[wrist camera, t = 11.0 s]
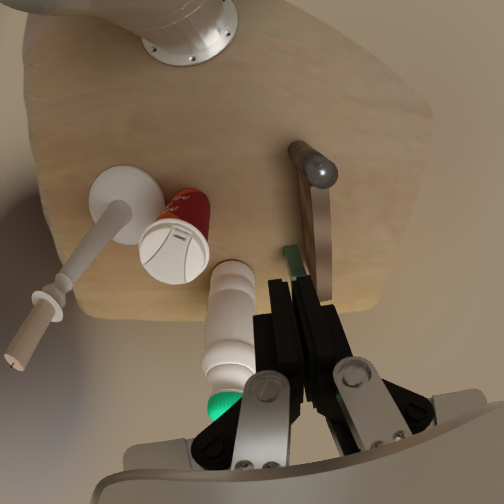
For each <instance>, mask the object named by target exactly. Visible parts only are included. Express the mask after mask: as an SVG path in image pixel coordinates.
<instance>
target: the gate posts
mask: <svg viewBox="0 0 504 504" xmlns="http://www.w3.org/2000/svg"><path fill="white" fill-rule="evenodd" d="M288 153H289V156H290V158H291V159H292V160H293V161H294V162H295V164H296V165H297V166H298V167H299V169H300V170H301V171H302V172H303V174H304V175H305V176H306V178H307V179H308V180H309V181H310V183H311V184H312V185H313V186H314V187H316V188H318V189H327V188H330V187H331V186H333V185H334V184H335V182H336V181H337V178H338V170H337V167H336V166H335V164H334V163H332V162H331V161H330V160H329V159H327V158H326V157H325V156H323V155H322V154H321V153H319V152H318V151H316V150H315V149H314V148H312V147H311V146H310V145H308V144H307V143H305V142H304V141H295V142H293V143H292V144H291V145H290V147H289V149H288ZM284 255H285V261H286V265H287V269H288V273H289V277H290V281H295V280H296V277H297V276H304V275H307V274H306V271H305V268H304V265H303V262H302V259H301V256H300V253H299V250H298V248H297V245H291V246H284Z"/></svg>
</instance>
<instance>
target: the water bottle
mask: <svg viewBox="0 0 504 504" xmlns="http://www.w3.org/2000/svg"><path fill="white" fill-rule="evenodd" d="M254 289H255V279H254V274H253V272H252V270H251V269H250V268H249V267H248V266H247V265H246V264H244V263H242V262H239V261H226V262H223V263H221V264H219V265H218V266H217V267H215V269H214V270H213V272H212V275H211V280H210V291H209V297H208V304H209V306H208V310H207V315H206V321H205V329H204V344H203V349H204V352H203V354H202V357H201V367H202V370H203V373H204V375H205V377H206V378H207V381H208V384H209V386H210V387H211V389H212V390H213V393H212V394H211V395H210V397H209V401H208V415H209V417H210V419H212V420H213V421H215V420H216V419H217V418H219V417H220V416H221V415H222V414H223V413H224V412H226V411H227V410H228V409H229V408H230V407H231V406H232V405H233V404H235V403H236V402H237V401H238V400H239V399H240V398H241V397H242V396H243V390H244V386H245V383H246V381H247V380H248V379H249V377H251V376H252V375H254V374H255V373H256V366H255V349H254V333H253V315H257V313H256V308H255V305H256V295H255V290H254Z"/></svg>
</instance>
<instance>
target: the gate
mask: <svg viewBox="0 0 504 504" xmlns="http://www.w3.org/2000/svg"><path fill="white" fill-rule="evenodd" d="M297 172H298V180H299V189H300V198H301V208H302V218H303V229H304V240H305V252H306V265H307V268H308V271H309V273H310V276H311V279H312V281H313V284H314V287H315V290H316V293H317V296H318V299H319V302H322V301H327V300H332V244H331V216H330V197H329V188H327V189H318V188H316V187H314V186H313V185H312V184H311V183H310V181H309V180H308V179H307V178H306V176H305V175H304V174H303V172H302V171H301V170H300V169H299V167H298V166H297Z"/></svg>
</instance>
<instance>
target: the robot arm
mask: <svg viewBox="0 0 504 504" xmlns="http://www.w3.org/2000/svg"><path fill="white" fill-rule="evenodd" d="M0 2H1V3H3V4H4V5H6V6H8V7H11V8H13V9H16V10H20V11H24V12H28V13H34V14H42V15H53V16H94V17H98V18H102V19H104V20H107V21H109V22H112V23H114V24H116V25H118V26H120V27H122V28H124V29H126V30H128V31H130V32H132V33H134V34H136V35H138V36H140V37H141V40H142V43H143V45H144V47H145V49H146V50H147V51H148V53H149V54H150V55H151V56H153V57H154V58H155V59H157V60H159V61H161V62H163V63H165V64H168V65H173V66H193V65H198V64H201V63H204V62H207V61H209V60H211V59H213V58H215V57H216V56H217V55H219V54H220V53H222V52H223V51H224V50H225V49H226V48H227V47H228V46H229V44H230V43H231V41H232V40H233V38H234V36H235V34H236V32H237V27H238V13H237V9H236V7H235V5H234V3H233V2H232V0H225V1H224V2H223V1H222V0H0ZM228 33H229V34H230V36H226V35H227V34H228ZM154 49H157V50H156V52H154ZM193 58H195V61H192V59H193ZM268 286H269V295H270V304H271V312H272V313H269V314H261V315H253V333H254V349H255V366H256V373H255V374H254V375H252V376H251V377H249V379H248V380H247V381H246V383H245V386H244V390H243V396H242V397H241V398H240V399H239V400H238V401H237V402H236V403H235V404H233V405H232V406H231V407H230V408H229V409H228V410H227V411H226V412H224V413H223V414H222V415H221V416H220V417H219V418H217V419H216V420H215V421H214V422H213V423H212V424H211V425H209V426H208V427H207V428H206V429H205V430H204V431H202V432H201V433H200V434H199V435H197V436H196V437H195V438H192V439H187V440H186V439H184V438H181V439H176V440H169V441H162V442H155V443H147V444H138V445H134V446H131V447H130V448H128V449H127V450H126V452H125V453H124V456H123V466H124V471H123V472H119V473H115V474H112V475H109V476H107V477H105V478H104V479H102V480H101V481H100V482H99V483H98V484H97V486H96V487H95V489H94V491H93V494H92V497H91V501H90V504H504V401H498V402H492V403H488V404H487V400H486V397H485V395H484V394H483V393H482V392H481V391H480V390H478V389H469V390H463V391H458V392H453V393H447V394H440V395H433V396H432V398H425V397H423V396H421V395H419V394H416V393H414V392H412V391H409V390H407V389H405V388H402V387H400V386H398V385H395V384H393V383H391V382H389V381H386V380H384V379H382V378H380V376H379V374H378V372H377V371H376V369H375V367H374V366H373V365H372V364H371V362H370V361H368V360H366V359H364V358H362V357H355V356H353V355H352V352H351V349H350V347H349V344H348V341H347V338H346V335H345V333H344V330H343V327H342V325H341V322H340V319H339V317H338V314H337V311H336V309H335V307H334V305H333V304H331V305H325V306H321V305H320V302H319V299H318V296H317V293H316V290H315V287H314V284H313V281H312V279H311V276H310V275H304V276H297V277H296V280H295V281H291V287H292V300H291V295H290V291H289V286H288V282H282V279H274V280H268ZM304 388H305V393H306V399H307V402H310V401H312V403H313V408H317V412H318V413H320V414H322V415H324V416H325V418H326V422H327V424H328V427H329V429H330V432H331V434H332V437H333V439H334V442H335V444H336V447H337V449H338V452H339V454H340V457H338V458H333V459H328V460H323V461H318V462H312V463H306V464H300V465H293V466H289V459H290V441H291V424H292V423H293V422H294V421H295V420H296V419H297V418H298V417H299V416H300V403H303V393H304Z"/></svg>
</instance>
